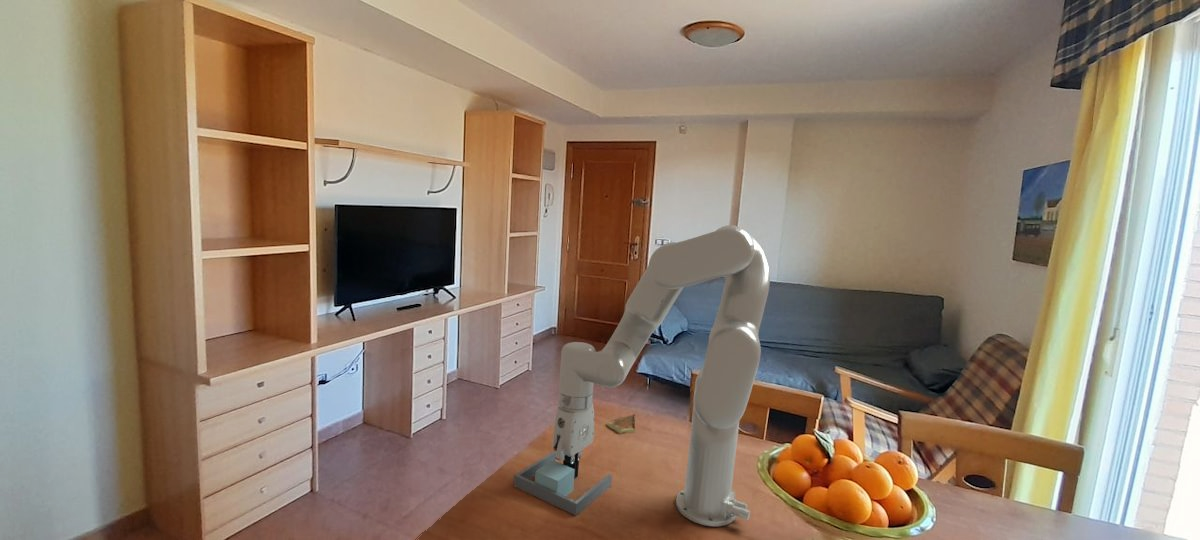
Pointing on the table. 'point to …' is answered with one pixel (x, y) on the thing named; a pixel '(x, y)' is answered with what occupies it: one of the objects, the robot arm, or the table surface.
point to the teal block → (556, 477)
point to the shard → (623, 424)
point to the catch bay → (553, 497)
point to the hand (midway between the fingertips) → (570, 476)
